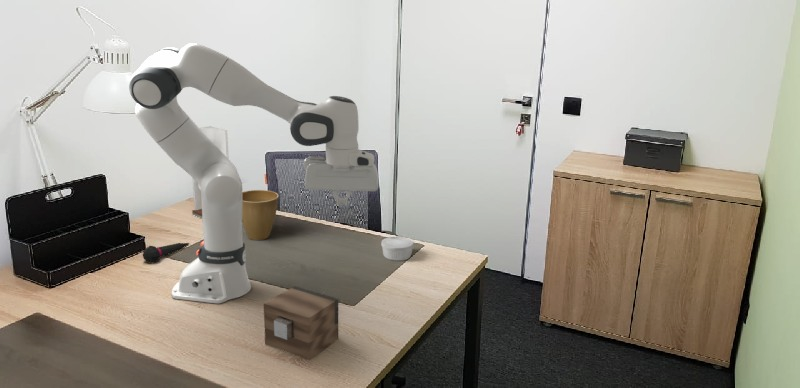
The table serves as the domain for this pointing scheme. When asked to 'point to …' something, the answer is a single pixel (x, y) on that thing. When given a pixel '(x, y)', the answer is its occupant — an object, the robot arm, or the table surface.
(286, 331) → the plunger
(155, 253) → the microphone
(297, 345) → the block
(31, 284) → the table surface
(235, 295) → the robot arm
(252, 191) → the plant pot
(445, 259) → the table surface
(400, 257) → the ramekin
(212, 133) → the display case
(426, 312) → the table surface
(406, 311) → the table surface
